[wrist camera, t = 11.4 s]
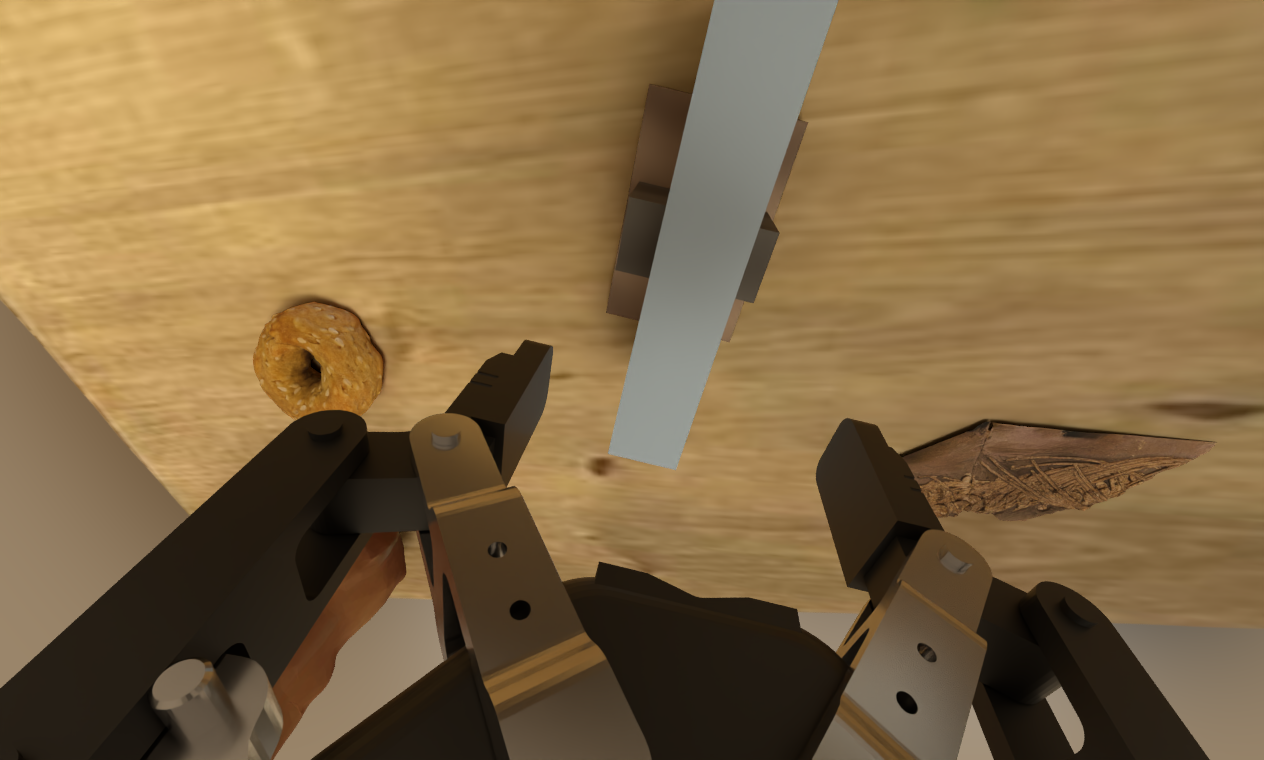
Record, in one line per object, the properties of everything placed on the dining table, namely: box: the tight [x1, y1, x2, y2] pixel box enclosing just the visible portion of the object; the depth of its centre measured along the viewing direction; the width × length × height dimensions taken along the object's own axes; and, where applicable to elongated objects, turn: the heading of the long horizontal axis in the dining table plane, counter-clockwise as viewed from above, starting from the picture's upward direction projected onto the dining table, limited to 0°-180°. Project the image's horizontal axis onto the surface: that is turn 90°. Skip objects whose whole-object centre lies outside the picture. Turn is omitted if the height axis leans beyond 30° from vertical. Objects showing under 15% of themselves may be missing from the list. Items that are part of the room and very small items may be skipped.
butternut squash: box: [271, 532, 406, 760], centre depth 40 cm, size 14×13×25 cm
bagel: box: [253, 302, 383, 420], centre depth 38 cm, size 10×11×5 cm
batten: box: [608, 0, 838, 470], centre depth 23 cm, size 22×4×5 cm, turn 168°
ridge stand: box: [606, 84, 808, 342], centre depth 28 cm, size 14×9×6 cm, turn 168°
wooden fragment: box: [902, 422, 1217, 521], centre depth 38 cm, size 26×11×1 cm, turn 102°
